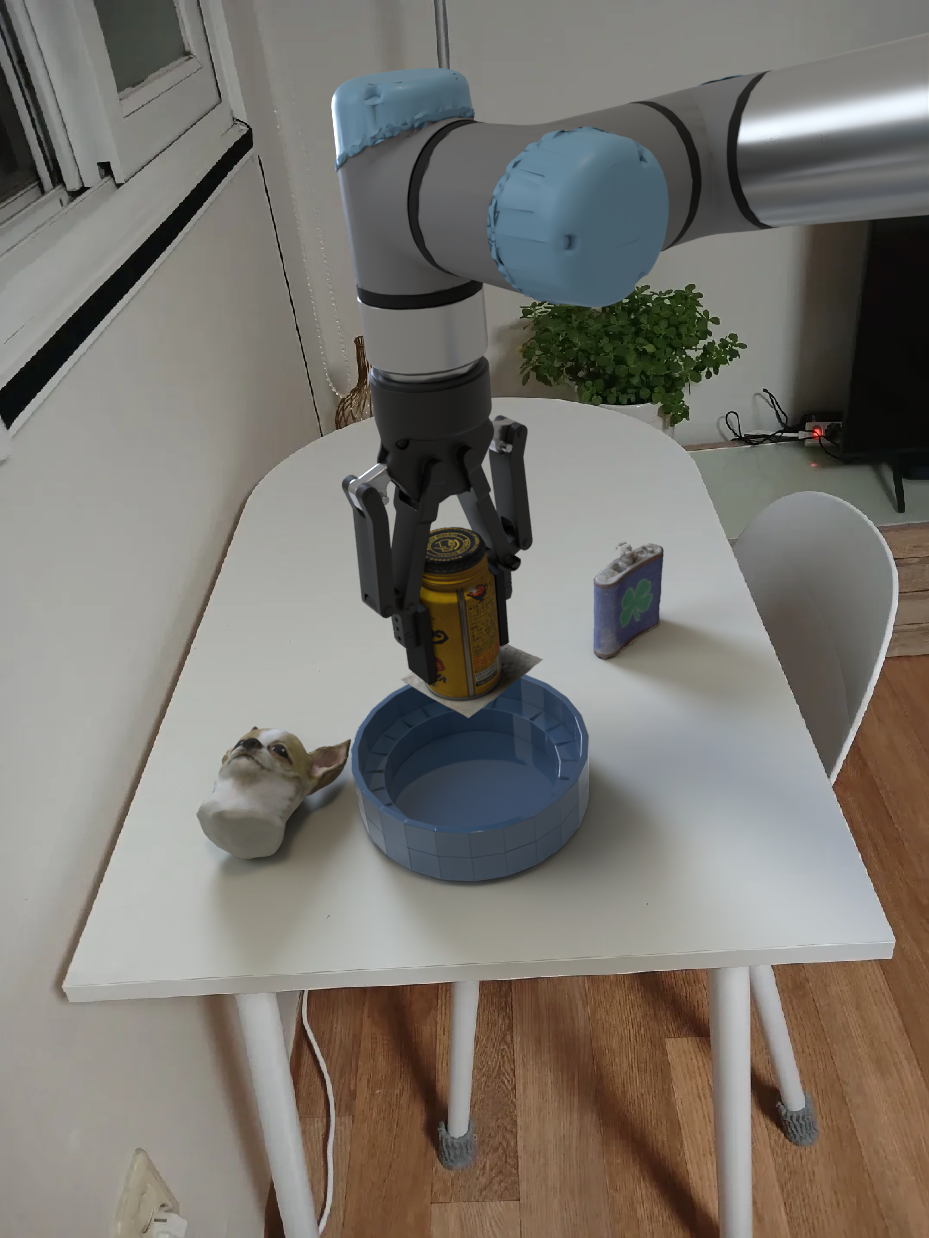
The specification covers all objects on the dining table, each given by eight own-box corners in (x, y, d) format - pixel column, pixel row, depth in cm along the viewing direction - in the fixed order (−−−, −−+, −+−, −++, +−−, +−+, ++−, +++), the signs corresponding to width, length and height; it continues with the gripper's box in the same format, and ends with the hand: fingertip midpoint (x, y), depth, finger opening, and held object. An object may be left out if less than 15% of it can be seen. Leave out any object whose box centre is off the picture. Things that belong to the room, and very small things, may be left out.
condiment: (400, 681, 73) (379, 548, 66) (475, 629, 78) (462, 500, 71) (468, 720, 69) (453, 582, 62) (543, 663, 74) (537, 528, 67)
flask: (607, 662, 93) (607, 571, 87) (584, 651, 95) (583, 560, 89) (666, 621, 98) (670, 531, 92) (643, 610, 100) (646, 522, 94)
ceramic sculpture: (146, 789, 72) (236, 674, 84) (171, 869, 76) (254, 750, 88) (275, 809, 69) (349, 688, 81) (293, 892, 74) (361, 765, 86)
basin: (637, 800, 78) (639, 747, 75) (451, 929, 70) (443, 876, 66) (492, 690, 91) (487, 640, 88) (320, 787, 83) (307, 736, 79)
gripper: (508, 307, 66) (523, 586, 79) (262, 389, 57) (326, 687, 70) (583, 331, 60) (586, 625, 74) (325, 425, 52) (381, 738, 65)
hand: (459, 655), depth 72 cm, fingers closed on condiment, 6 cm apart
